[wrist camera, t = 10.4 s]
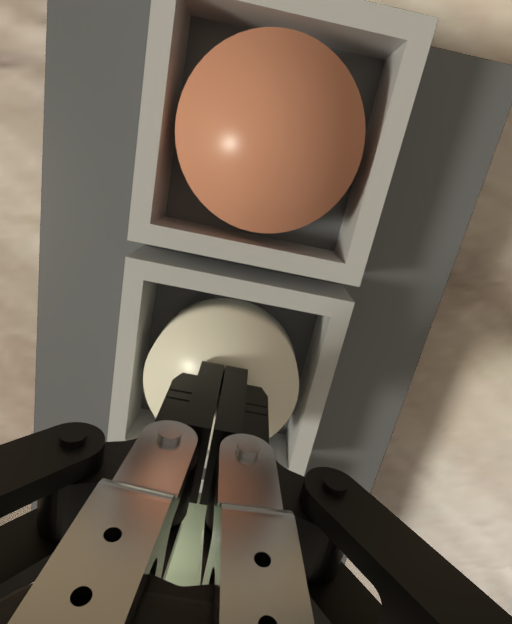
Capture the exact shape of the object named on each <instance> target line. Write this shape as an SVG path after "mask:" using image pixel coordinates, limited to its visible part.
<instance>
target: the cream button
mask: <svg viewBox="0 0 512 624" xmlns="http://www.w3.org/2000/svg"><path fill="white" fill-rule="evenodd" d="M202 361H206V362H211V363H217V364H222V365H224V368H223V373H222V379H221V384H220V389H219V394H218V399H217V404H216V409H215V414H214V419H213V424H212V429H211V434H210V440H209V445H208V450H210V445H211V440H212V435H213V429H214V424H215V419H216V414H217V409H218V404H219V399H220V394H221V389H222V384H223V379H224V374H225V369H226V365H227V366H233V367H238V368H243V369H248V377H247V385H252V386H257V387H262V389H263V390H264V392H265V393H266V395H267V396H268V414H269V415H268V417H269V438H270V437H272V436H273V435H274V434H275V433H277V432H278V431H279V430H280V429H281V428H282V427H283V426H284V425H285V423H286V422H287V420H288V419H289V418H290V416H291V414H292V412H293V410H294V408H295V405H296V402H297V398H298V393H299V376H298V369H297V363H296V358H295V352H294V349H293V345H292V342H291V340H290V338H289V336H288V334H287V332H286V331H285V329H284V328H283V326H282V325H281V324H280V323H279V322H278V321H277V320H276V319H275V318H274V317H273V316H272V315H271V314H269V313H268V312H267V311H265V310H264V309H262V308H260V307H258V306H257V305H254V304H252V303H249V302H246V301H243V300H239V299H232V298H214V299H207V300H203V301H199V302H197V303H194V304H192V305H190V306H188V307H186V308H184V309H183V310H181V311H180V312H179V313H177V314H176V315H175V316H174V317H173V318H172V319H171V320H170V321H169V322H168V323H167V325H166V326H165V327H164V329H163V330H162V332H161V334H160V335H159V337H158V338H157V340H156V342H155V343H154V345H153V347H152V348H151V350H150V352H149V354H148V357H147V359H146V362H145V366H144V371H143V387H144V393H145V397H146V400H147V403H148V405H149V408H150V409H151V411H152V413H153V415H154V416H155V418H156V417H157V415H158V412H159V410H160V408H161V405H162V403H163V401H164V398H165V397H166V394H167V391H168V390H169V387H170V385H171V382H172V380H173V379H174V378H175V377H177V376H178V375H180V374H181V373H188V374H193V375H198V372H199V369H200V366H201V363H202Z"/></svg>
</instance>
